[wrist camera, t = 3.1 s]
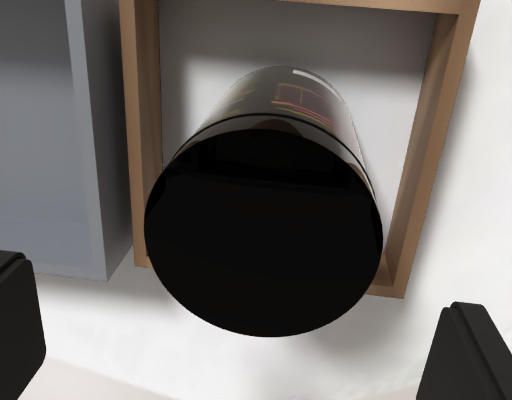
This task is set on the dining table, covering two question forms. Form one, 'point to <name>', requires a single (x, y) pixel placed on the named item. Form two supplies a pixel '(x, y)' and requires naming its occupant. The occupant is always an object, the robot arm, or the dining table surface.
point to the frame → (420, 144)
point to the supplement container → (267, 210)
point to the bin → (64, 137)
